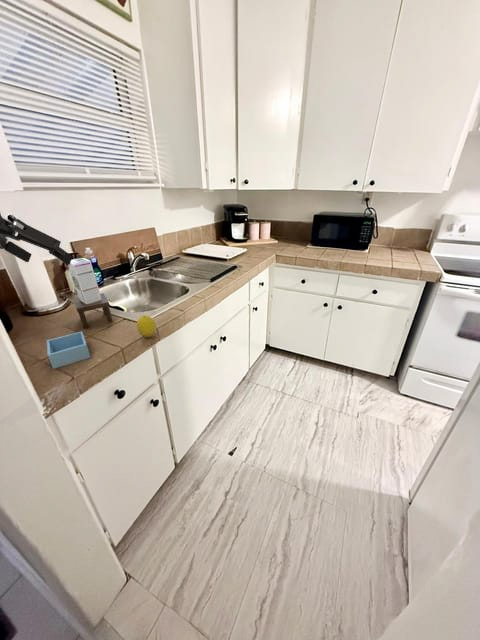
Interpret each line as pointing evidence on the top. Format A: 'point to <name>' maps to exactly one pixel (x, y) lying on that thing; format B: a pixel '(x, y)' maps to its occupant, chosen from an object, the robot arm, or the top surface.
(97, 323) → the top surface
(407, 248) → the top surface
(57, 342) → the bin
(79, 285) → the syrup box
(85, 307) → the stool
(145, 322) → the lemon
